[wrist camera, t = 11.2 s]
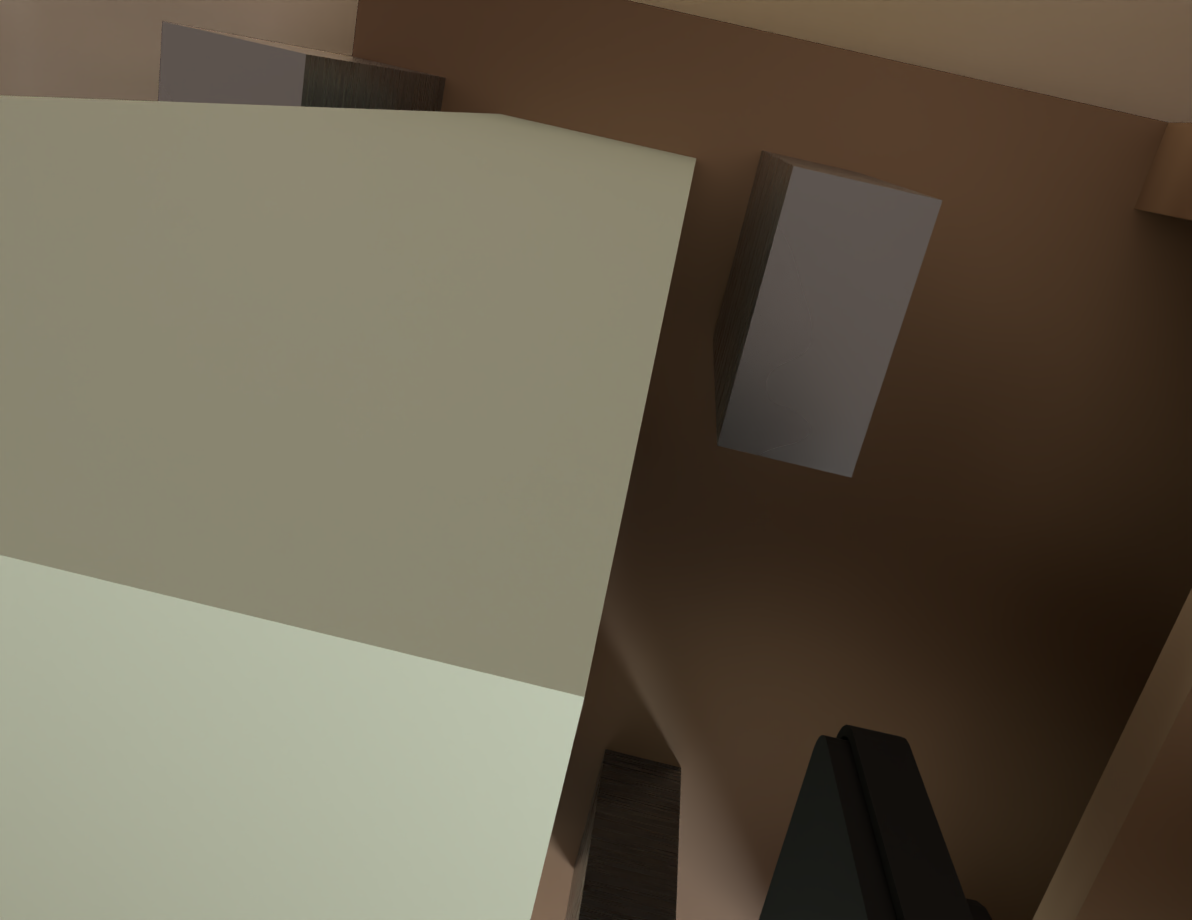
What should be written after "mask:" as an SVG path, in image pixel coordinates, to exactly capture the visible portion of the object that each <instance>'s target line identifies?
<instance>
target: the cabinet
mask: <svg viewBox="0 0 1192 920" xmlns="http://www.w3.org/2000/svg"><path fill="white" fill-rule="evenodd" d="M352 56H353V57H357V58H362V59H366V60H370V61H375V62H379V63H384V64H388V65H392V66H397V67H401V68H405V69H410V70H414V71H418V72H423V73H427V74H431V75H436V76H440V77H445V78H446V80H445V87H444V93H443V100H442V107H441V112H463V113H490V114H503V115H507V116H512V117H516V118H521V119H525V120H529V121H534V122H538V123H543V124H547V125H551V126H556V127H560V128H565V129H569V130H573V131H578V132H582V133H587V134H591V135H596V136H600V137H604V138H609V139H613V140H618V141H622V142H626V143H631V144H635V145H640V146H644V147H649V148H653V149H657V150H662V151H666V152H671V153H675V154H679V155H684V156H688V157H693V158H696V163H695V167H694V172H693V177H692V182H691V187H690V191H689V196H688V201H687V206H686V211H685V216H684V220H683V225H682V230H681V235H680V240H679V244H678V249H677V254H676V259H675V264H674V268H673V273H672V278H671V283H670V288H669V293H668V297H667V302H666V307H665V312H664V317H663V321H662V326H661V331H660V336H659V341H658V345H657V350H656V355H655V360H654V365H653V370H652V374H651V379H650V384H649V389H648V394H647V398H646V403H645V408H644V413H643V418H642V423H641V427H640V432H639V437H638V442H637V447H636V451H635V456H634V461H633V466H632V471H631V475H630V480H629V485H628V490H627V495H626V500H625V504H624V509H623V514H622V519H621V524H620V528H619V533H618V538H617V543H616V548H615V552H614V557H613V562H612V567H611V572H610V577H609V581H608V586H607V591H606V596H605V601H604V605H603V610H602V615H601V620H600V625H599V630H598V634H597V639H596V644H595V649H594V654H593V658H592V663H591V668H590V673H589V678H588V682H587V687H586V692H585V697H584V701H583V705H582V709H581V713H580V718H579V722H578V726H577V730H576V734H575V738H574V742H573V746H572V750H571V755H570V759H569V763H568V767H567V771H566V775H565V779H564V783H563V787H562V792H561V796H560V800H559V804H558V808H557V812H556V816H555V820H554V825H553V829H552V833H551V837H550V841H549V845H548V849H547V853H546V857H545V862H544V866H543V870H542V874H541V878H540V882H539V886H538V890H537V894H536V899H535V903H534V907H533V911H532V915H531V919H530V920H565V918H566V912H567V906H568V900H569V895H570V889H571V883H572V877H573V872H574V867H575V863H576V859H577V856H578V852H579V848H580V844H581V840H582V836H583V833H584V829H585V825H586V821H587V817H588V813H589V810H590V806H591V802H592V798H593V794H594V791H595V787H596V783H597V779H598V775H599V771H600V768H601V764H602V760H603V756H604V752H605V749H608V750H612V751H616V752H620V753H624V754H628V755H632V756H636V757H640V758H644V759H648V760H652V761H656V762H660V763H664V764H668V765H672V766H676V767H680V768H681V790H680V818H679V847H678V875H677V903H676V920H759V917H760V914H761V911H762V908H763V905H764V902H765V899H766V895H767V892H768V889H769V886H770V883H771V880H772V877H773V874H774V870H775V867H776V864H777V861H778V858H779V855H780V852H781V849H782V845H783V842H784V839H785V836H786V833H787V830H788V827H789V824H790V820H791V817H792V814H793V811H794V808H795V805H796V802H797V799H798V795H799V792H800V789H801V786H802V783H803V780H804V777H805V774H806V770H807V767H808V764H809V761H810V758H811V755H812V752H813V749H814V746H815V743H816V741H817V740H818V738H819V737H820V736H821V735H825V736H830V737H834V738H836V737H837V734H838V732H839V731H840V729H841V728H842V727H843V726H844V725H846V724H847V725H851V726H856V727H861V728H865V729H870V730H874V731H879V732H883V733H888V734H892V735H897V736H901V737H904V738H906V740H907V741H908V743H909V745H910V747H911V750H912V753H913V756H914V758H915V761H916V764H917V767H918V769H919V772H920V775H921V777H922V780H923V783H924V786H925V788H926V791H927V794H928V797H929V799H930V802H931V805H932V808H933V810H934V813H935V816H936V818H937V821H938V824H939V827H940V829H941V832H942V835H943V838H944V840H945V843H946V846H947V849H948V851H949V854H950V857H951V859H952V862H953V865H954V868H955V870H956V873H957V876H958V879H959V881H960V884H961V887H962V890H963V892H964V895H965V898H967V899H972V900H976V901H978V902H979V903H980V904H982V905H983V906H984V907H985V908H986V909H987V911H988V913H989V915H990V917H991V918H992V920H1192V123H1168V122H1164V121H1159V120H1155V119H1150V118H1146V117H1141V116H1137V115H1133V114H1128V113H1124V112H1119V111H1115V110H1111V109H1106V108H1102V107H1097V106H1093V105H1088V104H1084V103H1080V102H1075V101H1071V100H1066V99H1062V98H1057V97H1053V96H1049V95H1044V94H1040V93H1035V92H1031V91H1026V90H1022V89H1018V88H1013V87H1009V86H1004V85H1000V84H996V83H991V82H987V81H982V80H978V79H973V78H969V77H965V76H960V75H956V74H951V73H947V72H942V71H938V70H934V69H929V68H925V67H920V66H916V65H911V64H907V63H903V62H898V61H894V60H889V59H885V58H880V57H876V56H872V55H867V54H863V53H858V52H854V51H850V50H845V49H841V48H836V47H832V46H827V45H823V44H819V43H814V42H810V41H805V40H801V39H796V38H792V37H788V36H783V35H779V34H774V33H770V32H765V31H761V30H757V29H752V28H748V27H743V26H739V25H735V24H730V23H726V22H721V21H717V20H712V19H708V18H704V17H699V16H695V15H690V14H686V13H681V12H677V11H673V10H668V9H664V8H659V7H655V6H650V5H646V4H642V3H637V2H633V1H628V0H359V2H358V10H357V19H356V27H355V36H354V44H353V53H352ZM762 150H763V151H767V152H771V153H776V154H780V155H785V156H789V157H793V158H798V159H802V160H806V161H811V162H815V163H819V164H824V165H828V166H832V167H837V168H841V169H846V170H850V171H854V172H858V173H861V174H864V175H867V176H870V177H873V178H877V179H880V180H883V181H886V182H889V183H892V184H895V185H898V186H901V187H904V188H907V189H910V190H913V191H916V192H919V193H922V194H925V195H928V196H931V197H934V198H937V199H940V200H943V201H942V204H941V207H940V210H939V213H938V216H937V219H936V222H935V225H934V228H933V231H932V234H931V237H930V240H929V243H928V246H927V249H926V252H925V255H924V258H923V261H922V264H921V268H920V271H919V274H918V277H917V280H916V283H915V286H914V289H913V292H912V295H911V298H910V301H909V304H908V307H907V310H906V313H905V316H904V319H903V322H902V325H901V328H900V331H899V334H898V337H897V340H896V344H895V347H894V350H893V353H892V356H891V359H890V362H889V365H888V368H887V371H886V374H885V377H884V380H883V383H882V386H881V389H880V392H879V395H878V398H877V401H876V404H875V407H874V410H873V413H872V416H871V420H870V423H869V426H868V429H867V432H866V435H865V438H864V441H863V444H862V447H861V450H860V453H859V456H858V459H857V462H856V465H855V468H854V471H853V474H852V477H847V476H843V475H838V474H834V473H830V472H826V471H822V470H817V469H813V468H809V467H805V466H801V465H796V464H792V463H788V462H784V461H780V460H775V459H771V458H767V457H763V456H759V455H754V454H750V453H746V452H742V451H738V450H733V449H729V448H725V447H721V446H717V430H716V405H715V380H714V356H713V335H714V332H715V328H716V324H717V320H718V316H719V313H720V309H721V305H722V301H723V297H724V293H725V290H726V286H727V282H728V278H729V274H730V270H731V267H732V263H733V259H734V255H735V251H736V248H737V244H738V240H739V236H740V232H741V228H742V225H743V221H744V217H745V213H746V209H747V205H748V202H749V198H750V194H751V190H752V186H753V183H754V179H755V175H756V171H757V167H758V163H759V160H760V156H761V152H762Z"/></svg>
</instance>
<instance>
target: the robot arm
mask: <svg viewBox="0 0 1192 920" xmlns="http://www.w3.org/2000/svg"><path fill="white" fill-rule="evenodd" d="M759 920H992V918H991V917H990V915H989V913H988V911H987V909H986V908H985V907H984V906H983V905H982V904H980V903H979V902H978V901H976V900H972V899H967V898H965V895H964V892H963V890H962V887H961V884H960V881H959V879H958V876H957V873H956V870H955V868H954V865H953V862H952V859H951V857H950V854H949V851H948V849H947V846H946V843H945V840H944V838H943V835H942V832H941V829H940V827H939V824H938V821H937V818H936V816H935V813H934V810H933V808H932V805H931V802H930V799H929V797H928V794H927V791H926V788H925V786H924V783H923V780H922V777H921V775H920V772H919V769H918V767H917V764H916V761H915V758H914V756H913V753H912V750H911V747H910V745H909V743H908V741H907V740H906V738H904V737H901V736H897V735H892V734H888V733H883V732H879V731H874V730H870V729H865V728H861V727H856V726H851V725H847V724H846V725H844V726H843V727H842V728H841V729H840V731H839V732H838V734H837V737H836V738H834V737H830V736H825V735H821V736H820V737H819V738H818V740H817V741H816V743H815V746H814V749H813V752H812V755H811V758H810V761H809V764H808V767H807V770H806V774H805V777H804V780H803V783H802V786H801V789H800V792H799V795H798V799H797V802H796V805H795V808H794V811H793V814H792V817H791V820H790V824H789V827H788V830H787V833H786V836H785V839H784V842H783V845H782V849H781V852H780V855H779V858H778V861H777V864H776V867H775V870H774V874H773V877H772V880H771V883H770V886H769V889H768V892H767V895H766V899H765V902H764V905H763V908H762V911H761V914H760V917H759Z"/></svg>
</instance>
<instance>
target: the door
mask: <svg viewBox="0 0 1192 920" xmlns="http://www.w3.org/2000/svg"><path fill="white" fill-rule="evenodd" d="M695 163H696V158H693V157H688V156H684V155H679V154H675V153H671V152H666V151H662V150H657V149H653V148H649V147H644V146H640V145H635V144H631V143H626V142H622V141H618V140H613V139H609V138H604V137H600V136H596V135H591V134H587V133H582V132H578V131H573V130H569V129H565V128H560V127H556V126H551V125H547V124H543V123H538V122H534V121H529V120H525V119H521V118H516V117H512V116H507V115H503V114H490V113H463V112H436V111H409V110H382V109H355V108H328V107H301V106H274V105H247V104H220V103H193V102H166V101H139V100H112V99H85V98H58V97H31V96H4V95H0V920H530V919H531V915H532V911H533V907H534V903H535V899H536V894H537V890H538V886H539V882H540V878H541V874H542V870H543V866H544V862H545V857H546V853H547V849H548V845H549V841H550V837H551V833H552V829H553V825H554V820H555V816H556V812H557V808H558V804H559V800H560V796H561V792H562V787H563V783H564V779H565V775H566V771H567V767H568V763H569V759H570V755H571V750H572V746H573V742H574V738H575V734H576V730H577V726H578V722H579V718H580V713H581V709H582V705H583V701H584V697H585V692H586V687H587V682H588V678H589V673H590V668H591V663H592V658H593V654H594V649H595V644H596V639H597V634H598V630H599V625H600V620H601V615H602V610H603V605H604V601H605V596H606V591H607V586H608V581H609V577H610V572H611V567H612V562H613V557H614V552H615V548H616V543H617V538H618V533H619V528H620V524H621V519H622V514H623V509H624V504H625V500H626V495H627V490H628V485H629V480H630V475H631V471H632V466H633V461H634V456H635V451H636V447H637V442H638V437H639V432H640V427H641V423H642V418H643V413H644V408H645V403H646V398H647V394H648V389H649V384H650V379H651V374H652V370H653V365H654V360H655V355H656V350H657V345H658V341H659V336H660V331H661V326H662V321H663V317H664V312H665V307H666V302H667V297H668V293H669V288H670V283H671V278H672V273H673V268H674V264H675V259H676V254H677V249H678V244H679V240H680V235H681V230H682V225H683V220H684V216H685V211H686V206H687V201H688V196H689V191H690V187H691V182H692V177H693V172H694V167H695Z"/></svg>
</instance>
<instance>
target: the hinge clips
mask: <svg viewBox="0 0 1192 920" xmlns="http://www.w3.org/2000/svg"><path fill="white" fill-rule="evenodd" d="M445 80H446V78H445V77H440V76H436V75H431V74H427V73H423V72H418V71H414V70H410V69H405V68H401V67H397V66H392V65H388V64H384V63H379V62H375V61H370V60H366V59H362V58H357V57H353V56H348V55H342V54H337V53H332V52H326V51H321V50H315V49H310V48H305V47H299V46H294V45H288V44H283V43H278V42H272V41H267V40H261V39H256V38H251V37H245V36H240V35H234V34H229V33H224V32H218V31H213V30H207V29H202V28H197V27H191V26H186V25H180V24H175V23H170V22H164V21H162V40H161V58H160V77H159V95H158V101H166V102H193V103H220V104H247V105H274V106H301V107H328V108H355V109H382V110H409V111H436V112H441V107H442V100H443V93H444V87H445ZM942 201H943V200H940V199H937V198H934V197H931V196H928V195H925V194H922V193H919V192H916V191H913V190H910V189H907V188H904V187H901V186H898V185H895V184H892V183H889V182H886V181H883V180H880V179H877V178H873V177H870V176H867V175H864V174H861V173H858V172H854V171H850V170H846V169H841V168H837V167H832V166H828V165H824V164H819V163H815V162H811V161H806V160H802V159H798V158H793V157H789V156H785V155H780V154H776V153H771V152H767V151H763V150H762V152H761V156H760V160H759V163H758V167H757V171H756V175H755V179H754V183H753V186H752V190H751V194H750V198H749V202H748V205H747V209H746V213H745V217H744V221H743V225H742V228H741V232H740V236H739V240H738V244H737V248H736V251H735V255H734V259H733V263H732V267H731V270H730V274H729V278H728V282H727V286H726V290H725V293H724V297H723V301H722V305H721V309H720V313H719V316H718V320H717V324H716V328H715V332H714V335H713V356H714V380H715V405H716V430H717V446H721V447H725V448H729V449H733V450H738V451H742V452H746V453H750V454H754V455H759V456H763V457H767V458H771V459H775V460H780V461H784V462H788V463H792V464H796V465H801V466H805V467H809V468H813V469H817V470H822V471H826V472H830V473H834V474H838V475H843V476H847V477H852V474H853V471H854V468H855V465H856V462H857V459H858V456H859V453H860V450H861V447H862V444H863V441H864V438H865V435H866V432H867V429H868V426H869V423H870V420H871V416H872V413H873V410H874V407H875V404H876V401H877V398H878V395H879V392H880V389H881V386H882V383H883V380H884V377H885V374H886V371H887V368H888V365H889V362H890V359H891V356H892V353H893V350H894V347H895V344H896V340H897V337H898V334H899V331H900V328H901V325H902V322H903V319H904V316H905V313H906V310H907V307H908V304H909V301H910V298H911V295H912V292H913V289H914V286H915V283H916V280H917V277H918V274H919V271H920V268H921V264H922V261H923V258H924V255H925V252H926V249H927V246H928V243H929V240H930V237H931V234H932V231H933V228H934V225H935V222H936V219H937V216H938V213H939V210H940V207H941V204H942ZM680 790H681V768H680V767H676V766H672V765H668V764H664V763H660V762H656V761H652V760H648V759H644V758H640V757H636V756H632V755H628V754H624V753H620V752H616V751H612V750H608V749H605V752H604V756H603V760H602V764H601V768H600V771H599V775H598V779H597V783H596V787H595V791H594V794H593V798H592V802H591V806H590V810H589V813H588V817H587V821H586V825H585V829H584V833H583V836H582V840H581V844H580V848H579V852H578V856H577V859H576V863H575V867H574V872H573V877H572V883H571V889H570V895H569V900H568V906H567V912H566V918H565V920H676V903H677V875H678V847H679V818H680Z"/></svg>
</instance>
